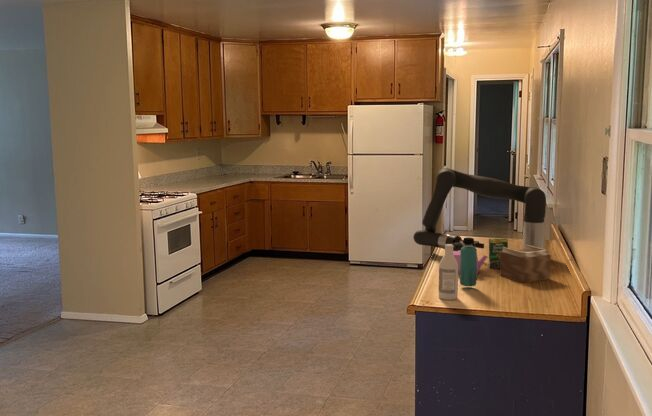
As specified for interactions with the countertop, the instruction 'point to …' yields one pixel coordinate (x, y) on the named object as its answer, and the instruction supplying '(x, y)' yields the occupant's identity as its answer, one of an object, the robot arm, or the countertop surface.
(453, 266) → the bath foam
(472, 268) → the beverage bottle
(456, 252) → the teapot
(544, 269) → the walnut stand
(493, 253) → the coffee box
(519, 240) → the countertop surface
